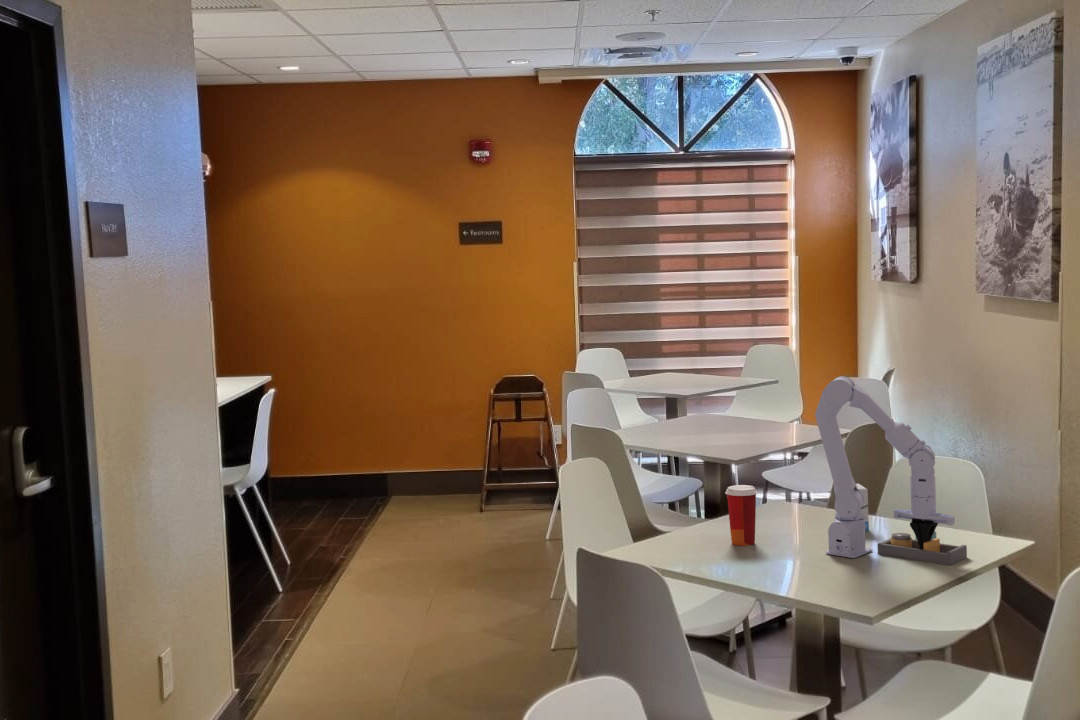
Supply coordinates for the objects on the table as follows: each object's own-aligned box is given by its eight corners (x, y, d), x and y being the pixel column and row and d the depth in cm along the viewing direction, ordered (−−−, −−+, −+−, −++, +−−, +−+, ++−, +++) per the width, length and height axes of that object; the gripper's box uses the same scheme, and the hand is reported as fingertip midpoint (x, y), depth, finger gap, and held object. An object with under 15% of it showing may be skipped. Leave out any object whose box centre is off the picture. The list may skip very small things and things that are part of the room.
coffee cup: (757, 539, 272) (755, 484, 271) (760, 546, 264) (758, 489, 263) (725, 539, 273) (723, 485, 272) (728, 547, 265) (726, 490, 264)
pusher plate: (927, 560, 244) (927, 543, 244) (923, 559, 245) (923, 543, 244) (939, 554, 248) (939, 538, 248) (936, 554, 249) (935, 538, 249)
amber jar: (906, 556, 249) (906, 538, 248) (887, 553, 252) (886, 535, 252) (916, 552, 252) (915, 534, 252) (897, 549, 256) (896, 531, 255)
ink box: (869, 531, 275) (868, 488, 275) (851, 532, 275) (850, 489, 275) (860, 524, 284) (859, 482, 283) (842, 525, 284) (841, 483, 283)
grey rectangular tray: (950, 565, 238) (950, 552, 238) (877, 553, 252) (877, 541, 252) (967, 557, 245) (966, 545, 244) (895, 546, 258) (895, 534, 258)
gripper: (959, 495, 244) (960, 551, 245) (902, 489, 255) (904, 542, 256) (946, 500, 240) (947, 557, 240) (889, 494, 250) (890, 548, 251)
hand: (924, 550), depth 248 cm, fingers closed
